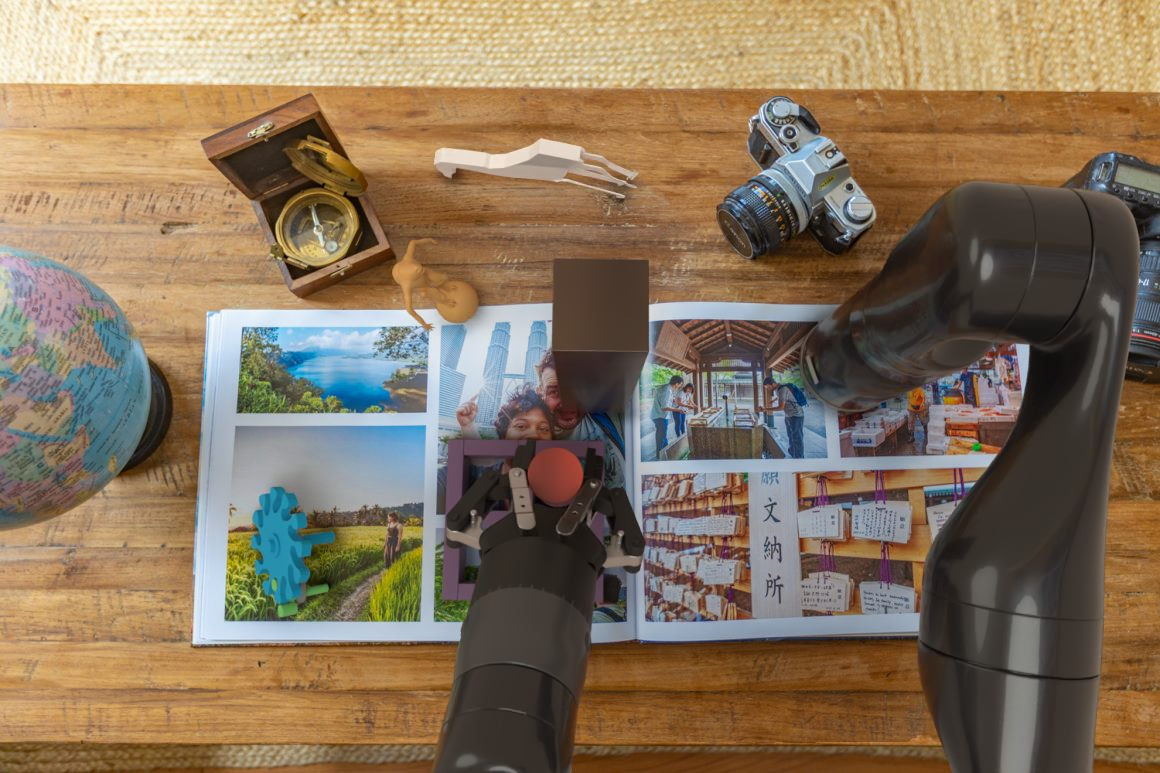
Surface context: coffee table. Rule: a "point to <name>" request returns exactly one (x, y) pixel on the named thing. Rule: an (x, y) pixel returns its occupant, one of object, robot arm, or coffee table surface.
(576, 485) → the red cylinder
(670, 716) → the coffee table surface
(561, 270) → the stand
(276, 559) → the gear
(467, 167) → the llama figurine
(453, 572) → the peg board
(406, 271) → the figurine
